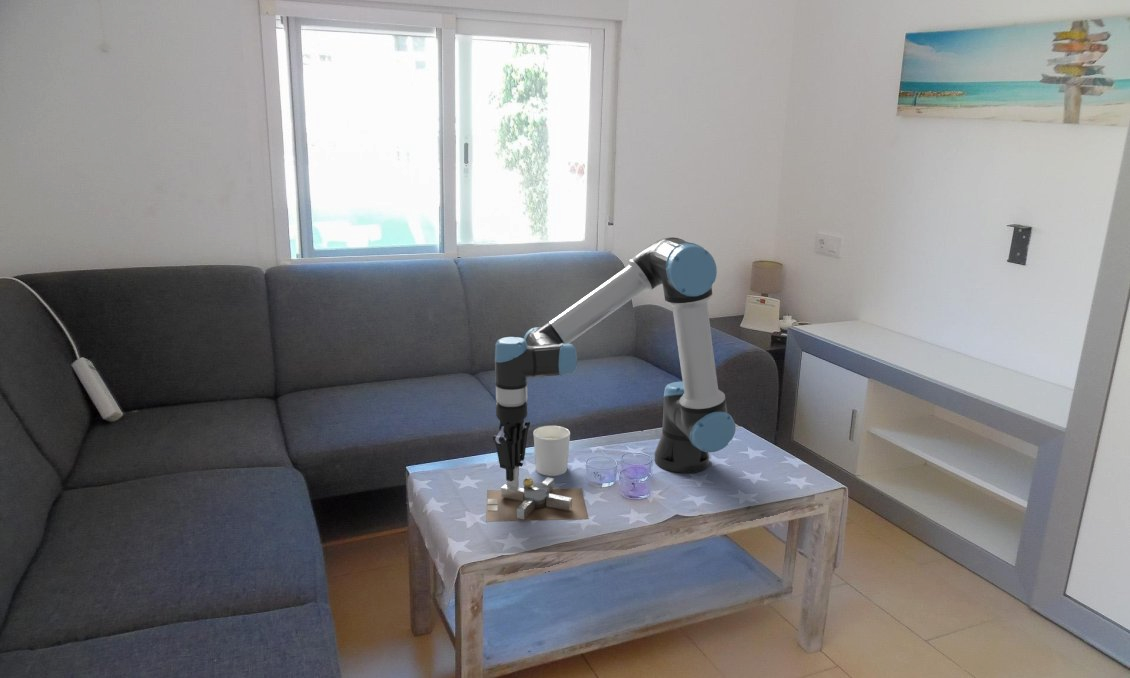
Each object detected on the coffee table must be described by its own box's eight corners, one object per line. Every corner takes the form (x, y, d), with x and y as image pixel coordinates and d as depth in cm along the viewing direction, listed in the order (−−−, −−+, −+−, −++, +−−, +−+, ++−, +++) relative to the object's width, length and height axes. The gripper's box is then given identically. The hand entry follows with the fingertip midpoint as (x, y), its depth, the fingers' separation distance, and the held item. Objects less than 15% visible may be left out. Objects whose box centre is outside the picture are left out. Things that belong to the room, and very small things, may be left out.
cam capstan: (518, 481, 200) (518, 458, 199) (583, 494, 194) (584, 470, 192) (486, 512, 184) (485, 487, 182) (556, 527, 178) (556, 501, 176)
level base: (581, 493, 198) (581, 487, 198) (588, 524, 183) (588, 518, 182) (487, 495, 196) (487, 489, 196) (486, 527, 181) (486, 520, 180)
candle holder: (565, 483, 204) (566, 441, 200) (529, 479, 205) (529, 437, 202) (572, 468, 213) (573, 427, 210) (537, 464, 215) (538, 424, 212)
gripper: (513, 390, 193) (514, 477, 200) (482, 406, 183) (485, 497, 189) (539, 396, 190) (539, 484, 196) (509, 412, 179) (510, 505, 186)
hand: (512, 490), depth 193 cm, fingers closed
